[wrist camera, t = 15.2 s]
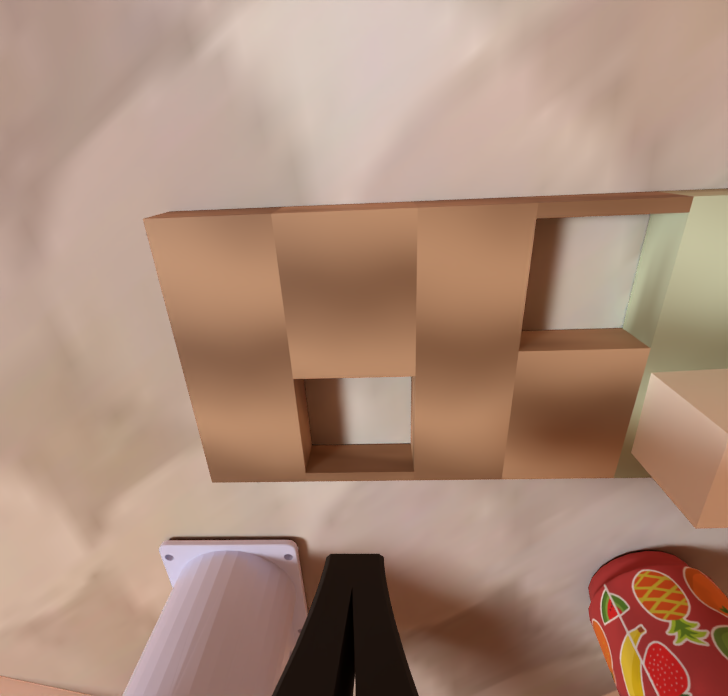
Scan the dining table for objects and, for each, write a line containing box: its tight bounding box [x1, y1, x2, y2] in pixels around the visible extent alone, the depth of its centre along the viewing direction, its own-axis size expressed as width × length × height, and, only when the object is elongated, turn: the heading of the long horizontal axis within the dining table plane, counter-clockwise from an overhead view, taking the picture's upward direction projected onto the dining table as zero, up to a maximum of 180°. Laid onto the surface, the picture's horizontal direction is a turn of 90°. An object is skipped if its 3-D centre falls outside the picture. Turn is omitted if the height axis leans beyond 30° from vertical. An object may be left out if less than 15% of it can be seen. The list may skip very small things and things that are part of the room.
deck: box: [143, 188, 728, 482], centre depth 16 cm, size 12×24×4 cm, turn 92°
